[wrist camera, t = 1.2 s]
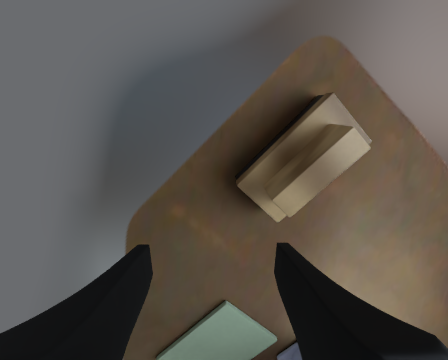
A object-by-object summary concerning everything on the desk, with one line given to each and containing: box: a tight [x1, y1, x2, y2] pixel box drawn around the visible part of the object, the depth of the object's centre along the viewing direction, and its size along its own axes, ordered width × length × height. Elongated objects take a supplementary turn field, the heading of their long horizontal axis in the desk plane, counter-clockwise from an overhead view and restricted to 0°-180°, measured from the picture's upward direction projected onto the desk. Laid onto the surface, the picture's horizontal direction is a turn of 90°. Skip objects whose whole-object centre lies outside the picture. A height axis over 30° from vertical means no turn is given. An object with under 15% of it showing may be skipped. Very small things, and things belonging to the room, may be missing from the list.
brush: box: [235, 93, 372, 223], centre depth 17 cm, size 10×5×6 cm, turn 136°
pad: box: [156, 300, 277, 360], centre depth 27 cm, size 9×13×1 cm
